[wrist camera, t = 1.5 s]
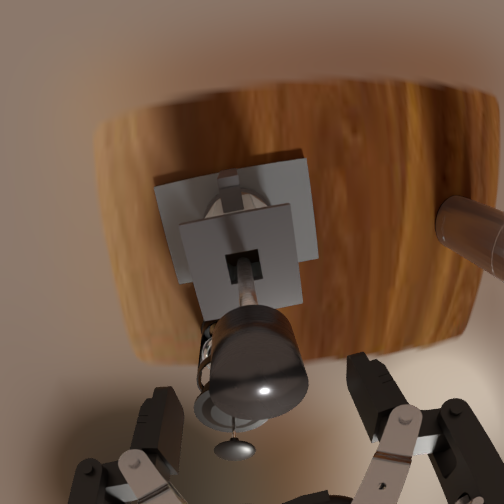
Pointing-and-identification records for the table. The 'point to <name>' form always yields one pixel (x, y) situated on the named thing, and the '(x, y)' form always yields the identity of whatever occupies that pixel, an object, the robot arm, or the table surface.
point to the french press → (214, 415)
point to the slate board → (253, 177)
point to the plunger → (255, 358)
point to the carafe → (241, 249)
